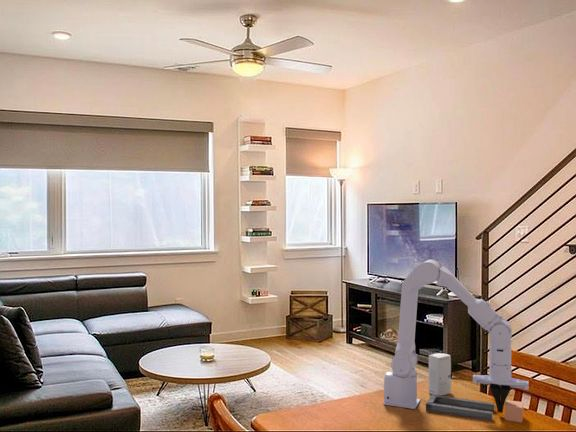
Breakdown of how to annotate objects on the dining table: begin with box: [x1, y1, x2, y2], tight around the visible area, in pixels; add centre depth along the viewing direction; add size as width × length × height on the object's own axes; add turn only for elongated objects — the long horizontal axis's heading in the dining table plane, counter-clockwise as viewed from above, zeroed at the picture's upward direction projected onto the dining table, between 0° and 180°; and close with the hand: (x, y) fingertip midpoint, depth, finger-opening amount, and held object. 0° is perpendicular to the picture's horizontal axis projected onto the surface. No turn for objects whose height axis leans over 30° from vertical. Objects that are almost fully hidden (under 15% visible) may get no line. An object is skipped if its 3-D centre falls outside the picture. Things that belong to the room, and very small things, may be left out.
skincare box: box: [428, 352, 452, 396], centre depth 173 cm, size 6×4×12 cm
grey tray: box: [425, 394, 496, 422], centre depth 158 cm, size 18×9×2 cm, turn 65°
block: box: [504, 399, 524, 423], centre depth 152 cm, size 4×5×4 cm
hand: (500, 411), depth 153 cm, fingers closed
